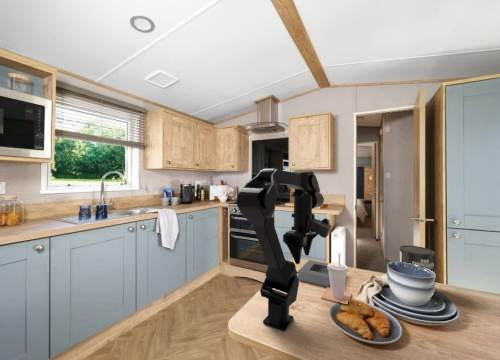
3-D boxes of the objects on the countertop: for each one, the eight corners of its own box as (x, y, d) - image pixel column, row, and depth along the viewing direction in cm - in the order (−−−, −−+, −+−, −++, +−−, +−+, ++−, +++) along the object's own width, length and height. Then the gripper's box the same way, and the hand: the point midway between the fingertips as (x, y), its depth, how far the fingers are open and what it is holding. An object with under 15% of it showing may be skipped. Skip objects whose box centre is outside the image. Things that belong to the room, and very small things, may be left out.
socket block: (336, 289, 81) (336, 279, 80) (298, 280, 88) (298, 271, 88) (343, 275, 93) (343, 266, 92) (308, 268, 100) (309, 259, 100)
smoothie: (347, 302, 71) (348, 257, 71) (326, 298, 74) (326, 254, 74) (347, 293, 77) (348, 251, 77) (327, 289, 80) (327, 249, 79)
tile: (347, 305, 70) (347, 304, 70) (321, 298, 74) (321, 297, 74) (351, 294, 77) (351, 293, 77) (327, 288, 81) (327, 287, 81)
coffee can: (442, 298, 75) (443, 255, 75) (407, 295, 77) (407, 253, 77) (424, 284, 85) (424, 246, 85) (394, 281, 87) (394, 244, 87)
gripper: (321, 217, 61) (320, 275, 61) (335, 209, 77) (334, 255, 77) (282, 213, 67) (282, 267, 67) (302, 206, 83) (302, 250, 83)
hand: (302, 259), depth 73 cm, fingers open, 9 cm apart
